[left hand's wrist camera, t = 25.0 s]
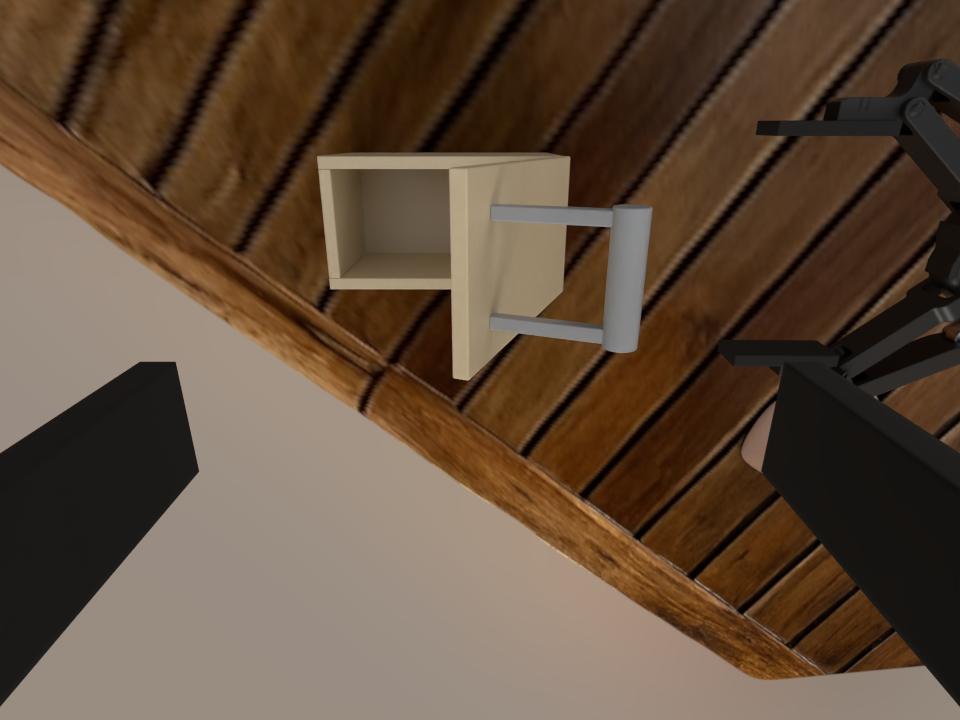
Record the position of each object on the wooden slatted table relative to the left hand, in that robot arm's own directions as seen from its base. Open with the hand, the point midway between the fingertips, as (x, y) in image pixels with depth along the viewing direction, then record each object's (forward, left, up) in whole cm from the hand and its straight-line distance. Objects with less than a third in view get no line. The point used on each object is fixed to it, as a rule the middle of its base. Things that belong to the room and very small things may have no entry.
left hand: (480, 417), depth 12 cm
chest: (+2, -2, -40) cm, 40 cm away
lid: (-1, +2, -21) cm, 21 cm away
